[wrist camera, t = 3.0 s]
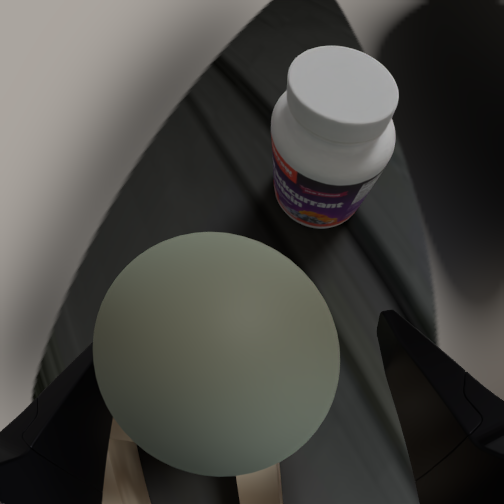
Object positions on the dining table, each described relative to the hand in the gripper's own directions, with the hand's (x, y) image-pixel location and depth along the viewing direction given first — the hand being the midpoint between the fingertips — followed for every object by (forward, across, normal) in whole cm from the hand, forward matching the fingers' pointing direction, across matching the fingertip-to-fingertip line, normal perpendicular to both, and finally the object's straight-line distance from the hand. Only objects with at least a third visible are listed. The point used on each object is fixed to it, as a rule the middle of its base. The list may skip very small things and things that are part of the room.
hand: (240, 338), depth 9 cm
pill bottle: (+11, -4, 0) cm, 12 cm away
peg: (+5, 0, +6) cm, 8 cm away
